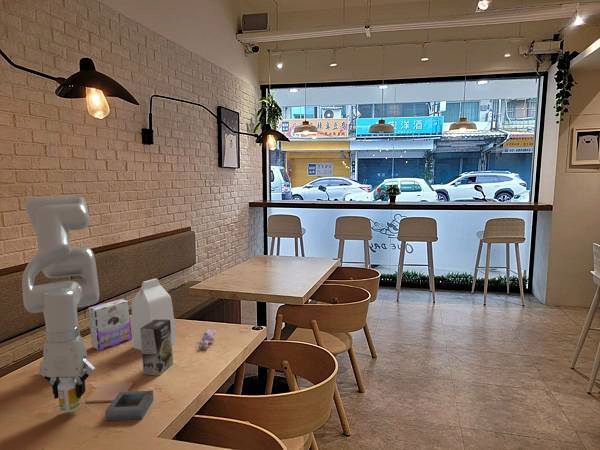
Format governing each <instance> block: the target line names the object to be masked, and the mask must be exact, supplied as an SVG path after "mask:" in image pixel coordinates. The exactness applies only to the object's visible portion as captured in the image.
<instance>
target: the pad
mask: <svg viewBox="0 0 600 450" xmlns="http://www.w3.org/2000/svg"><path fill="white" fill-rule="evenodd" d="M133 385H134V382H133V381H132V382H131V381H130V382H113V383H112V382H111V383H109V382H108V383H100V385H99V386H98V387H97V388H96V389H95V390H94V391H93V392H92V393H91V395H89V396H88V398H87V399H86V400H85V403H86V404H89V403H91V404H92V403H108V402H109V403H112V401H113V400H114V399H115V398H116V396H117V395H118V394H119V393H120V392H129V390H131V388H132V386H133Z"/></svg>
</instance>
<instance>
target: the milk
mask: <svg viewBox="0 0 600 450" xmlns="http://www.w3.org/2000/svg"><path fill="white" fill-rule="evenodd" d="M174 315H175V314H174V307H173V301H172V297H171V295H170V294H169V293H168V292H167V290H166V289H165V288H164V287H163V286H162V285H161V283H160V280H159V278H156V277H155V278H152V279H148V280H146V281H145V280H144V281H142V283H141V288H140V290H139V291H138V292H137V294H135V296H134V297H132V300H131V333H132V349H136V350H140V351H142V345H141V330H140V328H142V327H143V326H145V325H147V324H148V323H150V322H151V321H153V320H170V324H171V339H172V345H174V344H177V343H178V338H177V328H176V323H175V316H174Z"/></svg>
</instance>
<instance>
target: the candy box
mask: <svg viewBox="0 0 600 450" xmlns="http://www.w3.org/2000/svg"><path fill="white" fill-rule="evenodd" d="M88 318H89V327H90V328H89V329H90V339H91V348H93V349H94V350H96V351H97V352H100V351H103V350H106V349H108V348H111V347H114V346H117V345H119V344H123V343H124V342H128V341H130V340H133V338H132V321H131V312H130V303H129V300H127V299H123V298H119V299H116V300H112V301H109V302H106V303H102V304H97V305H94V306H93V305H92V306H90V307H88Z"/></svg>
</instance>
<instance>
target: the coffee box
mask: <svg viewBox="0 0 600 450" xmlns="http://www.w3.org/2000/svg"><path fill="white" fill-rule="evenodd" d="M140 330H141V345H142V350H141V358H142V373H143V375H150V376H151V375H152V376H161V375H162V374H163V373H164V372H166V370H168V369H169V368H170V367H172V365H173V364H174V355H173V344H172V339H171V324H170V320H153V321H151V322H150V323H148V324H147V325H145V326H143V327H142V328H140Z"/></svg>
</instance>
